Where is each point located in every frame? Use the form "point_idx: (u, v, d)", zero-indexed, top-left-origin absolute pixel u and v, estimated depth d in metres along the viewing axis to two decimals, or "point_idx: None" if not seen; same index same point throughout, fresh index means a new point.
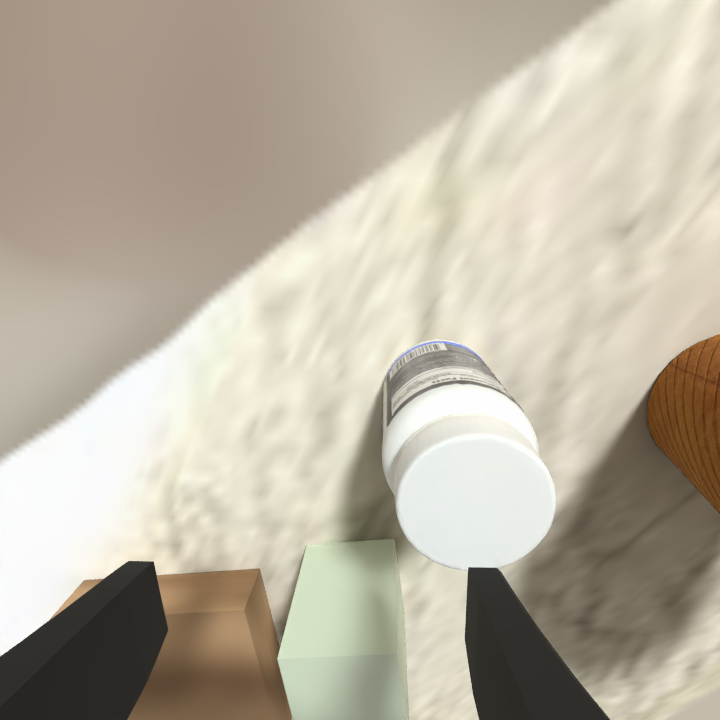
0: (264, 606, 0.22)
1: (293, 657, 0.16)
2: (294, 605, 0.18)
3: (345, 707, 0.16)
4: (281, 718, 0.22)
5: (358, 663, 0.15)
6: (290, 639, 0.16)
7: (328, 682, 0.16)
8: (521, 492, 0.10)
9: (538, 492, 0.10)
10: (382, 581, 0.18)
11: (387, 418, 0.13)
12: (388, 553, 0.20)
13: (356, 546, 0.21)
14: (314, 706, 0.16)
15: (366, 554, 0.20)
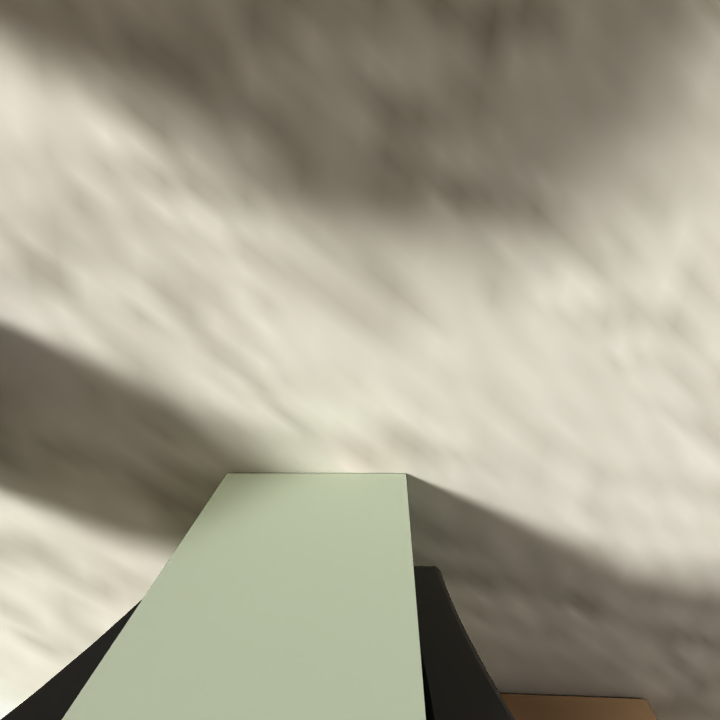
0: None
1: None
2: None
3: None
4: None
5: None
6: None
7: None
8: None
9: None
10: None
11: None
12: None
13: None
14: None
15: None
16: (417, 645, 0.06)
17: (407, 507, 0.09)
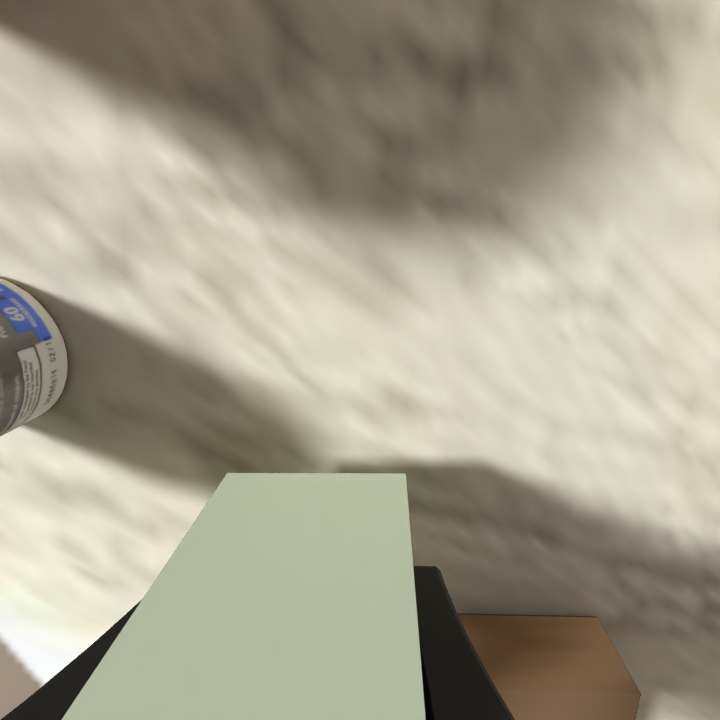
0: None
1: None
2: None
3: None
4: (569, 667, 0.13)
5: None
6: None
7: None
8: None
9: None
10: None
11: None
12: None
13: None
14: None
15: None
16: (417, 644, 0.06)
17: (407, 507, 0.09)
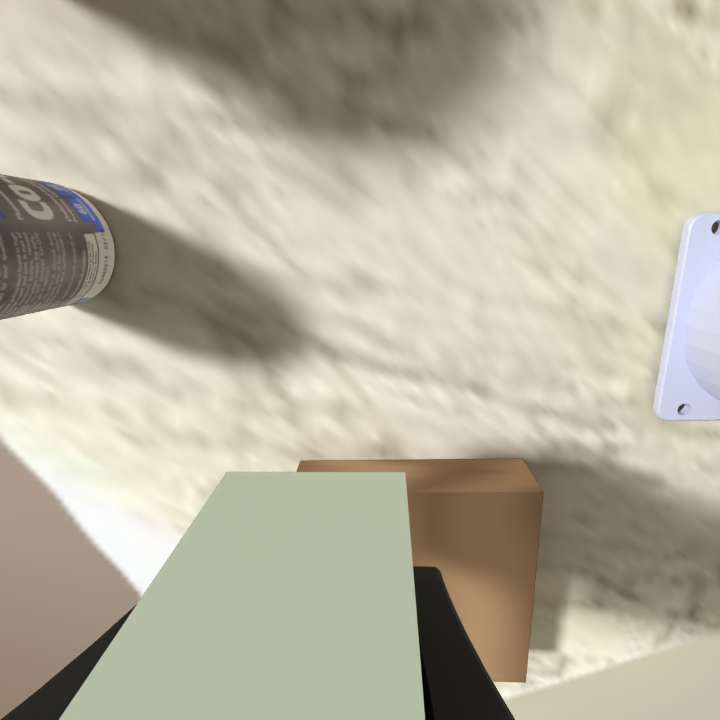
0: (341, 466, 0.18)
1: None
2: None
3: None
4: (494, 481, 0.17)
5: None
6: None
7: None
8: None
9: None
10: None
11: None
12: None
13: None
14: None
15: None
16: (416, 642, 0.06)
17: (407, 505, 0.09)
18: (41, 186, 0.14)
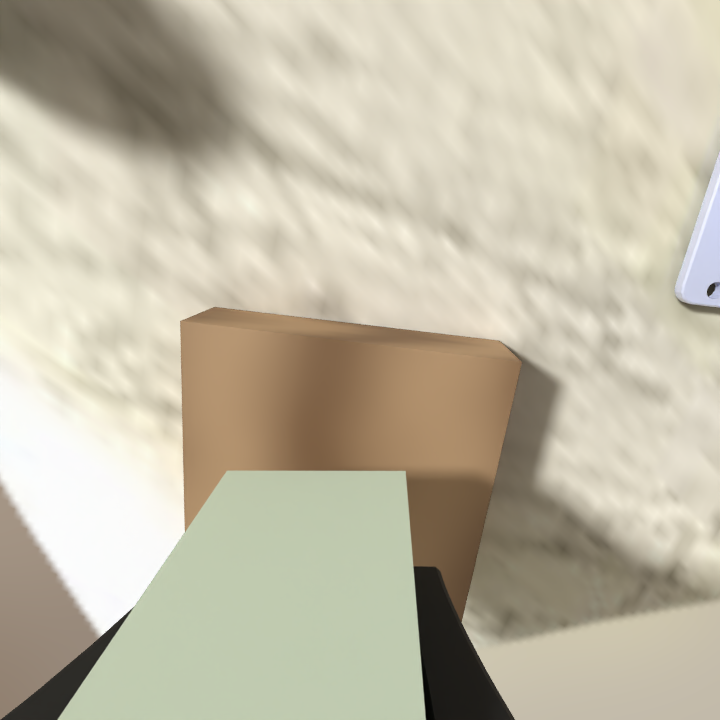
0: (264, 316, 0.14)
1: None
2: None
3: None
4: (459, 348, 0.13)
5: None
6: None
7: None
8: None
9: None
10: None
11: None
12: None
13: None
14: None
15: None
16: (416, 640, 0.06)
17: (407, 504, 0.09)
18: None
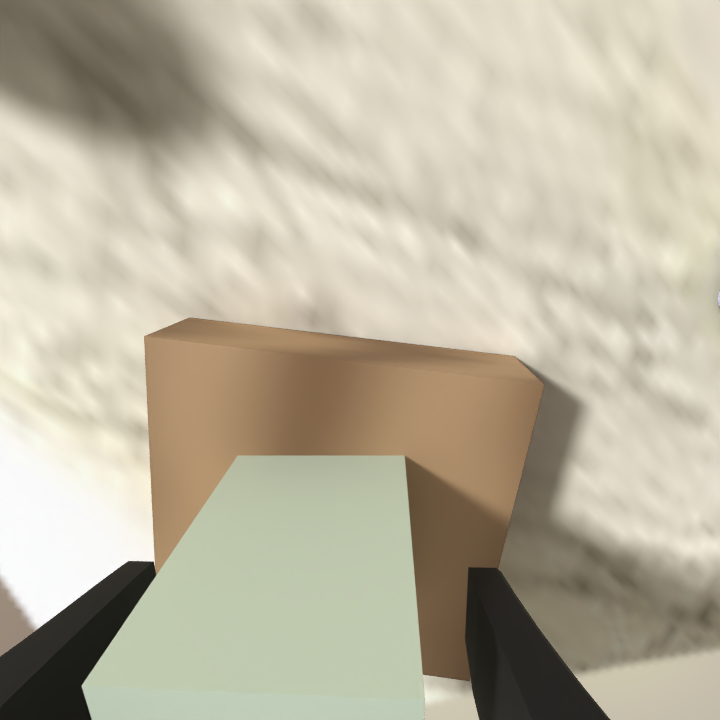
0: (245, 328, 0.12)
1: None
2: None
3: None
4: (469, 367, 0.11)
5: None
6: None
7: None
8: None
9: None
10: None
11: None
12: None
13: None
14: None
15: None
16: (414, 596, 0.07)
17: (405, 484, 0.10)
18: None
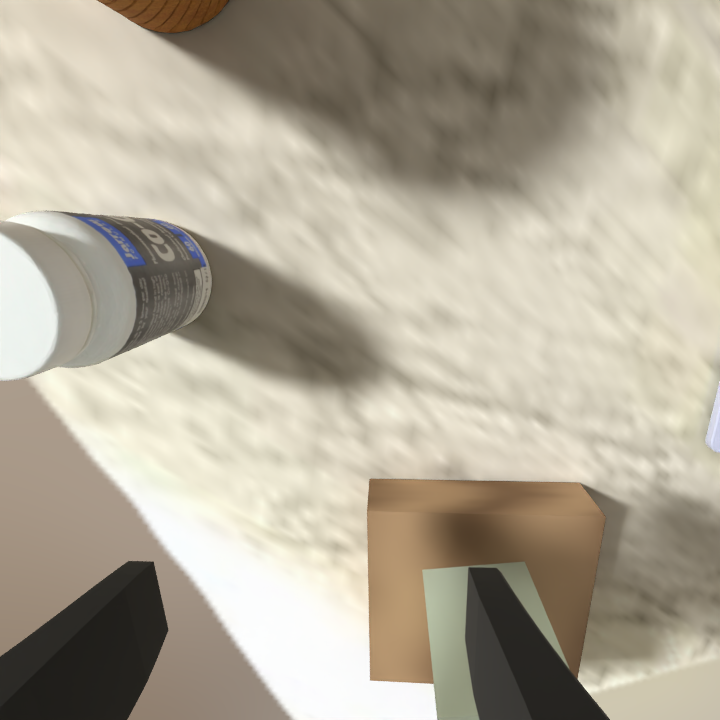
0: (409, 486, 0.20)
1: None
2: None
3: None
4: (557, 505, 0.18)
5: None
6: None
7: None
8: None
9: None
10: None
11: None
12: None
13: None
14: None
15: None
16: (565, 661, 0.14)
17: (534, 585, 0.17)
18: (159, 227, 0.16)
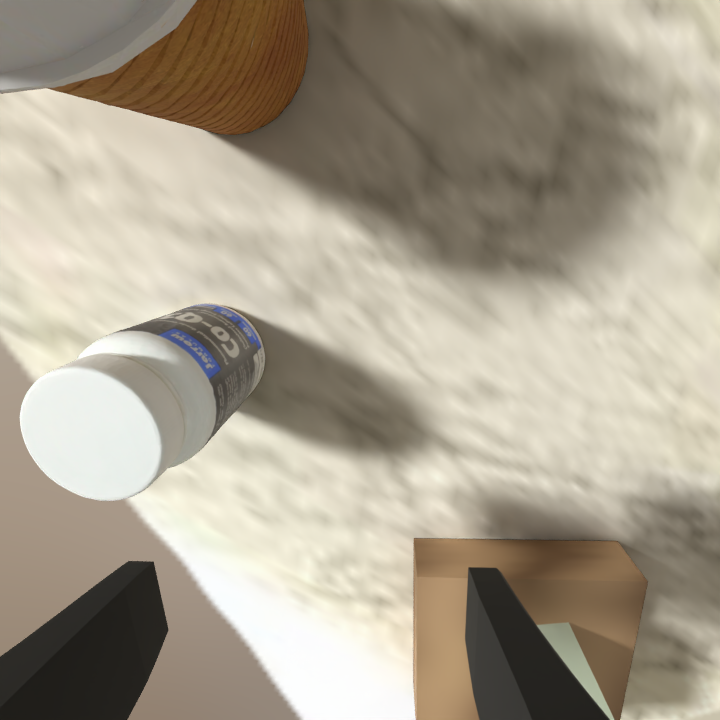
0: (453, 546, 0.20)
1: None
2: None
3: None
4: (599, 568, 0.19)
5: None
6: None
7: None
8: (68, 398, 0.11)
9: (65, 384, 0.11)
10: None
11: None
12: None
13: None
14: None
15: None
16: None
17: (581, 650, 0.18)
18: (222, 318, 0.16)
